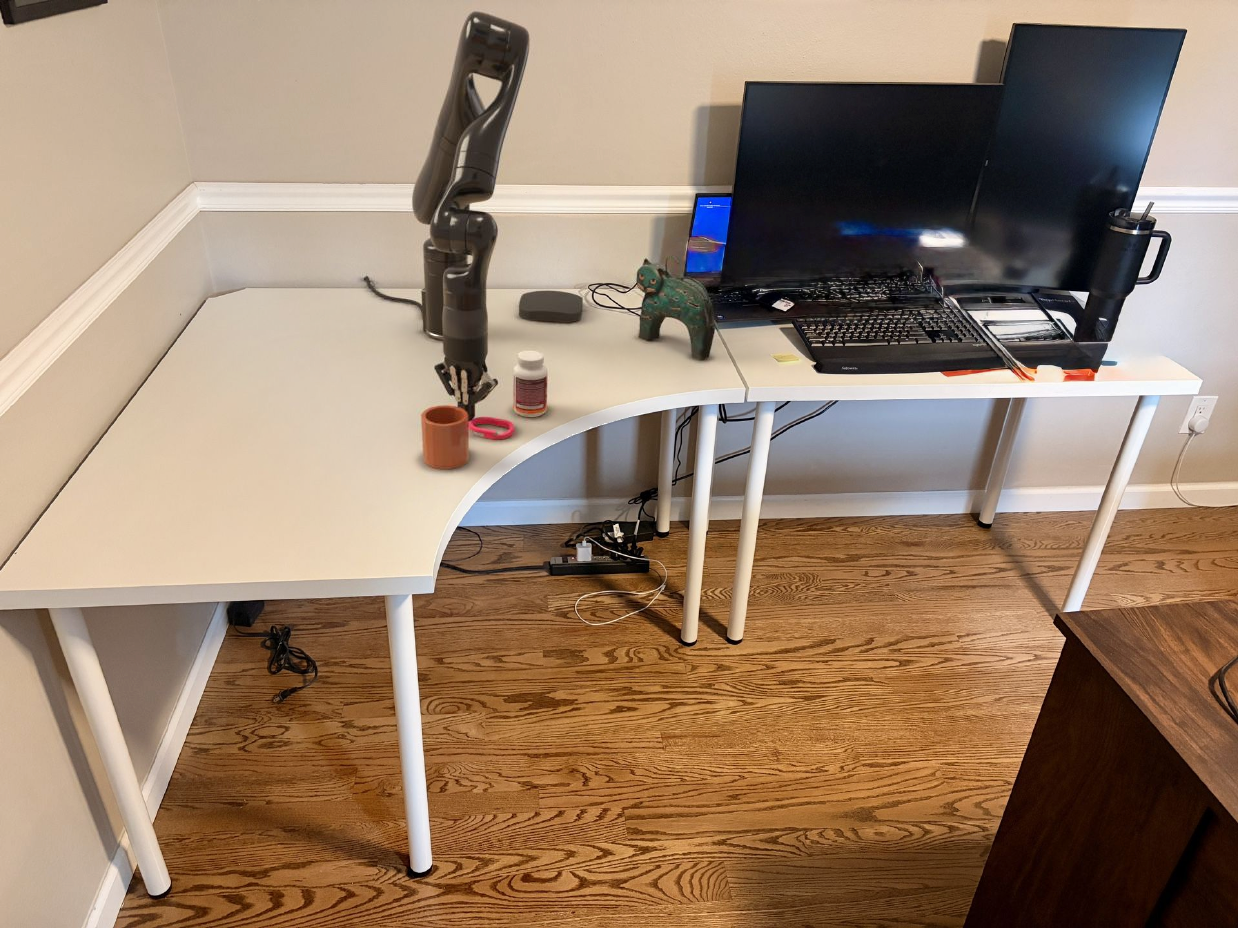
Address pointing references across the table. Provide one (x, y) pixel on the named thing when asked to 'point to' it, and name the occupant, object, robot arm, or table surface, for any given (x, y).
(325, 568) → the table surface
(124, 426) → the table surface
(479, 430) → the fitness band
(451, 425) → the clay pot
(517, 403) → the pill bottle
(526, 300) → the media streaming box
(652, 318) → the ceramic cat
